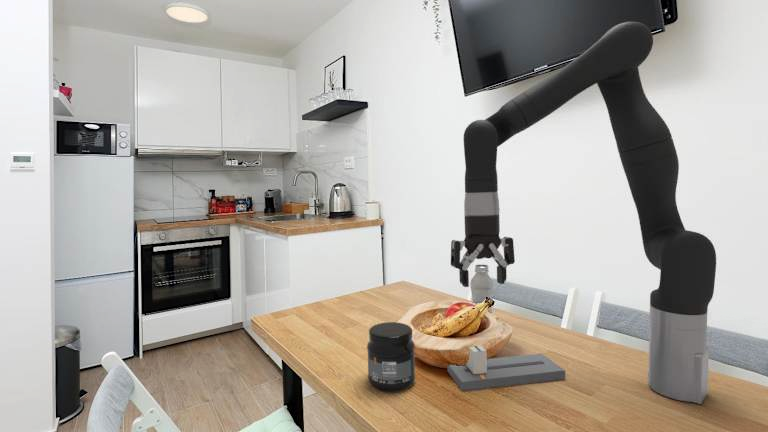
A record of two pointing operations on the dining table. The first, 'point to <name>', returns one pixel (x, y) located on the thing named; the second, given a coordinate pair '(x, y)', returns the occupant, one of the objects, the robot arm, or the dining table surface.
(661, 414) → the dining table surface
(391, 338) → the supplement container
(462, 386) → the slider board
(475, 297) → the plastic bottle
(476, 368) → the block
